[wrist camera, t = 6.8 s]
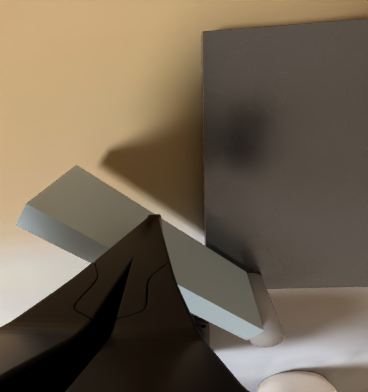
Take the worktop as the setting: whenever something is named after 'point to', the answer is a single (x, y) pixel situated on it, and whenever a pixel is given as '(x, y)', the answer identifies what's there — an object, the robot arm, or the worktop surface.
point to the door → (176, 245)
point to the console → (288, 151)
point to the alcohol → (296, 383)
